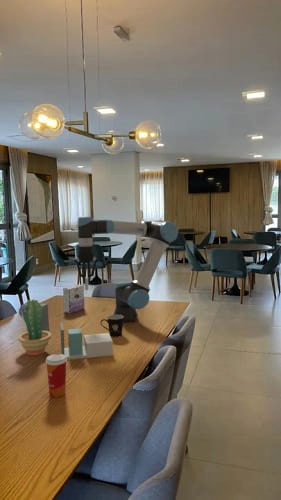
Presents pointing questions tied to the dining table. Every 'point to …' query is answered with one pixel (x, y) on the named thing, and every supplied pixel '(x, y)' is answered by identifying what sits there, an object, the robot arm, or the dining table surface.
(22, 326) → the dining table surface
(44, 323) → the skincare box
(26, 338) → the potted cactus
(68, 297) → the candy box
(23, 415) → the dining table surface
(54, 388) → the paper cup
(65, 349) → the display stand
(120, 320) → the coffee mug
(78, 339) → the carton
